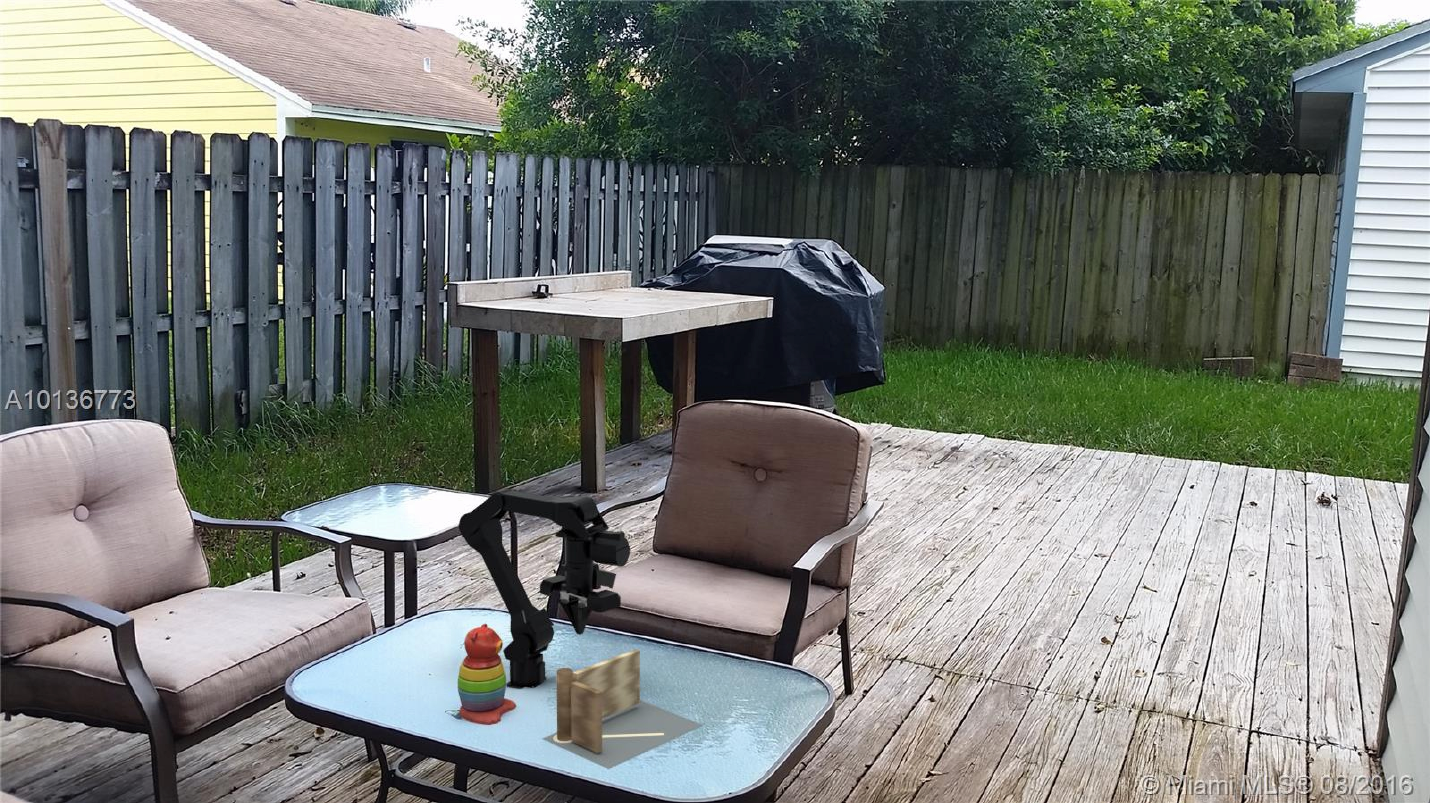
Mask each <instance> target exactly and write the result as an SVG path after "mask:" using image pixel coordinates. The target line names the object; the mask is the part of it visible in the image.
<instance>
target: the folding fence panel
mask: <svg viewBox="0 0 1430 803" xmlns="http://www.w3.org/2000/svg"><path fill="white" fill-rule="evenodd" d="M640 655H641V651H640V650H639V649H633V650H630V651H627V652H625V653H622V654H619V655H616V656H613V657H611V658H609V659H608V658H607V659H606V660H603V661H600V662H597V663H595V664H592V665H590V666H587V667H584V668H580V669H578V670H575V671H573V682H575V681H577V682H579V683H582V684H584V685H587V686H589V687H592V688H594V689H597V690H599V691H602V718H605V717H607V716H610V715H612V714H614V713H617V712H619V711H622V710H624V709H626V708H629V707H631V706H634V705H636V704H638V703H640V697H641V696H640V694H641V693H640V692H641V690H640V688H641V686H640V685H641V680H640V678H641V674H640V673H641V666H640V665H641V656H640Z"/></svg>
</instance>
